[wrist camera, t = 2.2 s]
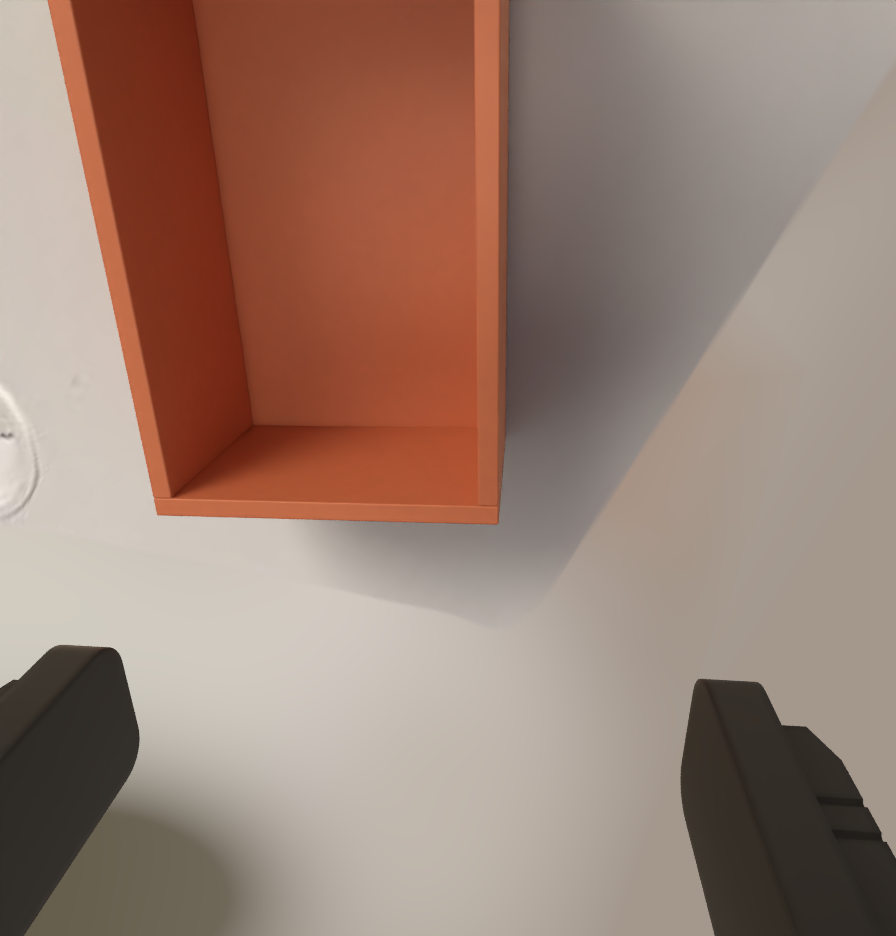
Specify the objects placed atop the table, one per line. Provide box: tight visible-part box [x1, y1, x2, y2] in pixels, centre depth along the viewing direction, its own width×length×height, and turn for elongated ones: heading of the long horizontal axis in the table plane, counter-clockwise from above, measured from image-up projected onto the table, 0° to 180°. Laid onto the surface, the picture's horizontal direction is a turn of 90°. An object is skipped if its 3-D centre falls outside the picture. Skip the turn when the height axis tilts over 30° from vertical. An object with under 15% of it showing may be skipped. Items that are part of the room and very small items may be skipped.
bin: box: [48, 0, 509, 525], centre depth 24 cm, size 20×12×9 cm, turn 1°
